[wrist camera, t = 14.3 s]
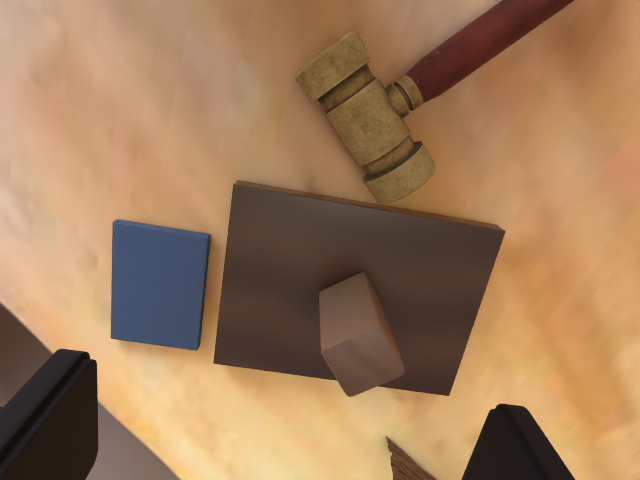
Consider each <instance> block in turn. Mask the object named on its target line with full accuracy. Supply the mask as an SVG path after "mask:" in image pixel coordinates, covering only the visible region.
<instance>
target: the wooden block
mask: <svg viewBox="0 0 640 480" xmlns="http://www.w3.org/2000/svg"><path fill="white" fill-rule="evenodd" d="M319 307H320V336H321V353H322V355H323V357H324V358H325V360H326V362H327V364H328V365H329V367H330V369H331V370H332V372H333V374H334V375H335V377H336V379H337V381H338V382H339V384H340V386H341V387H342V389H343V391H344V392H345V394H346V395H347V396H349V397H351V396H355V395H357V394H360V393H362V392H364V391H367V390H369V389H372V388H374V387H376V386H379V385H381V384H384V383H386V382H388V381H391V380H393V379H396V378H398V377H400V376H402V375H403V374H404V365H403V362H402V359H401V356H400V353H399V350H398V348H397V345H396V342H395V339H394V336H393V333H392V330H391V327H390V324H389V321H388V318H387V315H386V312H385V309H384V307H383V305H382V303H381V301H380V299H379V297H378V295H377V293H376V291H375V289H374V287H373V285H372V283H371V281H370V279H369V278H368V276H367V274H365V273H364V272H362V273H359V274H357V275H354V276H352V277H350V278H348V279H346V280H343V281H341V282H339V283H337V284H335V285H333V286H330V287H328V288H326V289H324V290H322V291H321V292H320V293H319Z"/></svg>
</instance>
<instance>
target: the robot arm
mask: <svg viewBox="0 0 640 480" xmlns="http://www.w3.org/2000/svg"><path fill="white" fill-rule="evenodd" d="M97 403H98V402H97V362H96V360H93V359H90V355H89V353H88V352H83V351H75V350H67V349H59V350H57V351H56V352H55V353H54V354H53V355H52V356H51V357H50V358H49V359H48V360H47V361H46V363H44V365H43V366H42V367H41V368H40V369H39V370H38V371H37V372H36V373H35V374H34V375H33V376H32V377H31V379H29V381H28V382H27V383H26V384H25V385H24V386H23V387H22V388H21V389H20V390H19V391H18V392H17V393H16V395H14V397H13V398H12V399H11V400H10V401H9V402H8V403H7V404H6V405H5V406H4V407H0V480H85V479H86V478H87V476H88V474H89V472H90V470H91V469H92V467H93V465H94V463H95V460H96V457H97V453H98V404H97ZM462 480H575V479H574V477H573V476H572V474H571V473H570V471H569V470H568V468H567V467H566V466H565V464H564V463H563V461H562V460H561V458H560V457H559V455H558V454H557V452H556V451H555V449H554V448H553V446H552V445H551V443H550V442H549V440H548V439H547V437H546V436H545V434H544V433H543V431H542V430H541V428H540V427H539V425H538V424H537V423H536V421H535V420H534V418H533V417H532V415H531V414H530V412H529V411H528V410H527V409H526V408H525V407H523V406H516V405H508V404H499V405H497V406H496V408H495V409H492V410H490V412H489V414H488V416H487V418H486V421H485V423H484V426H483V428H482V431H481V433H480V436H479V438H478V440H477V443H476V445H475V448H474V450H473V453H472V455H471V458H470V460H469V463H468V465H467V467H466V470H465V472H464V475H463V477H462Z"/></svg>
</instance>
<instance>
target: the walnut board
mask: <svg viewBox="0 0 640 480" xmlns="http://www.w3.org/2000/svg"><path fill="white" fill-rule="evenodd" d="M504 234H505V230H503V229H502V228H500V227H499V226H497V225H493V224H487V223H482V222H476V221H470V220H464V219H458V218H453V217H447V216H441V215H435V214H429V213H423V212H418V211H412V210H406V209H400V208H394V207H389V206H383V205H377V204H371V203H365V202H360V201H354V200H348V199H342V198H336V197H330V196H325V195H319V194H313V193H307V192H301V191H296V190H290V189H284V188H278V187H272V186H267V185H261V184H255V183H249V182H243V181H236V183H235V184H234V185H233V193H232V202H231V211H230V220H229V229H228V238H227V247H226V255H225V264H224V273H223V282H222V291H221V300H220V309H219V318H218V327H217V336H216V345H215V354H214V364H221V365H228V366H235V367H243V368H250V369H257V370H264V371H272V372H279V373H286V374H293V375H300V376H308V377H315V378H322V379H329V380H337V379H336V377H335V375H334V374H333V372H332V370H331V369H330V367H329V365H328V364H327V362H326V360H325V358H324V357H323V355H322V353H321V336H320V307H319V293H320V292H321V291H322V290H324V289H326V288H328V287H330V286H333V285H335V284H337V283H339V282H341V281H343V280H346V279H348V278H350V277H352V276H354V275H357V274H359V273H362V272H364V273H365V274H367V276H368V278H369V279H370V281H371V283H372V285H373V287H374V289H375V291H376V293H377V295H378V297H379V299H380V301H381V303H382V305H383V307H384V309H385V312H386V315H387V318H388V321H389V324H390V327H391V330H392V333H393V336H394V339H395V342H396V345H397V348H398V350H399V353H400V356H401V359H402V362H403V365H404V374H403V375H402V376H400V377H398V378H396V379H393V380H391V381H388V382H386V383H384V384H381V385H379V386H380V387H387V388H395V389H402V390H409V391H416V392H423V393H431V394H438V395H445V396H449V395H450V392H451V389H452V386H453V383H454V380H455V377H456V374H457V371H458V368H459V365H460V363H461V360H462V357H463V354H464V351H465V348H466V345H467V342H468V339H469V336H470V333H471V330H472V327H473V325H474V322H475V319H476V316H477V313H478V310H479V307H480V304H481V301H482V298H483V295H484V292H485V290H486V287H487V284H488V281H489V278H490V275H491V272H492V269H493V266H494V263H495V260H496V257H497V254H498V252H499V249H500V246H501V243H502V240H503V237H504Z"/></svg>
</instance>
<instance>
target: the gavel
mask: <svg viewBox="0 0 640 480" xmlns="http://www.w3.org/2000/svg"><path fill="white" fill-rule="evenodd" d="M572 1H574V0H502V1H501V2H499V3H498V4H497V5H495V6H494V7H492V8H491V9H490V10H488V11H487V12H486V13H484V14H483V15H481V16H480V17H479V18H477V19H476V20H475V21H473V22H472V23H470V24H469V25H468V26H466V27H465V28H463V29H462V30H461V31H459V32H458V33H457V34H455V35H454V36H452V37H451V38H450V39H448V40H447V41H445V42H444V43H443V44H441V45H440V46H439V47H437V48H436V49H434V50H433V51H432V52H430V53H429V54H427V55H426V56H425V57H423V58H422V59H421V60H419V61H418V62H417V63H416V64H415V65H414V66H413V67H412V68H411V69H410V70H409V71H408V72H407V73H406V74H405V75H404V76H403V77H401V78H400V79H399V80H397V81H396V82H395V83H394V86H393V85H390V86H388V87H387V88H385V89H384V87H383V85H382V84H381V82H380V80H379V79H378V77H374V76H373V74H372V72H371V71H370V69H369V67H368V66H367V63H368V62H369V61H370V60H371V59H372V57H371V55H370V53H369V52H368V50H367V48H366V47H365V45H364V43H363V42H362V40H361V38H360V37H359V35H358V33H357V32H349V33H348V34H346V35H344V36H343V37H341V38H340V39H338V40H337V41H336V42H334V43H333V44H331V45H330V46H329V47H327V48H326V49H325V50H323V51H322V52H321V53H319V54H318V55H317V56H316V57H314V58H313V59H312V60H311V61H309V62H308V63H307V64H306V65H305V66H304V67H302V68H301V69H300V70H299V71H298V72H297V74H296V77H295V79H296V80H297V82H298V83H299V85H300V86H301V88H302V89H303V91H304V92H305V94H306V95H307V97H308V98H309V100H310V101H311V103H312V102H314V101H316V100H319V101H320V103H321V105H322V106H323V108H324V109H325V111H326V114H325V115H326V117H327V118H328V120H329V121H330V123H331V124H332V126H333V127H334V129H335V130H336V132H337V133H338V135H339V136H340V138H341V139H342V141H343V142H344V144H345V145H346V147H347V149H348V150H349V152H350V153H351V155H352V156H353V158H354V159H355V161H356V162H357V164H358V165H359V166H362V167H363V168H364V170H365V172H366V175H365V176H364V178H363V181H364V183H365V184H366V186H367V187H368V189H369V190H370V192H371V193H372V195H373V196H374V198H375V199H376V201H377V202H378V203H390V202H394V201H396V200H399V199H401V198H403V197H405V196H407V195H409V194H410V193H412V192H414V191H415V190H416V189H418V188H419V187H421V186H422V185H423V184H424V183H425V182H426V181H427V180H428V179H429V178H430V177H431V176H432V174H433V173H434V171H435V169H436V164H435V163H434V161H433V159H432V158H431V156H430V154H429V153H428V151H427V149H426V147H425V146H424V144H423V142H421V141H418V142H413V140H412V139H411V137H410V135H409V133H410V131H409V129H408V127H407V126H406V124H405V122H404V121H403V119H402V118H404V117H405V116H406V115H408V114H409V110H411V111H413V110H414V109H416V108H417V107H418V106H420V105H421V104H423V103H425V102H427V101H429V100H431V99H433V98H435V97H437V96H439V95H441V94H442V93H444V92H445V91H447V90H448V89H449V88H451V87H452V86H454V85H455V84H457V83H458V82H459V81H461V80H462V79H464V78H465V77H466V76H468V75H469V74H471V73H472V72H473V71H475V70H476V69H478V68H479V67H481V66H482V65H483V64H485V63H486V62H488V61H489V60H490V59H492V58H493V57H495V56H496V55H498V54H499V53H500V52H502V51H503V50H505V49H506V48H507V47H509V46H510V45H512V44H513V43H514V42H516V41H517V40H519V39H520V38H522V37H523V36H524V35H526V34H527V33H529V32H530V31H531V30H533V29H534V28H536V27H537V26H539V25H540V24H541V23H543V22H544V21H546V20H547V19H548V18H550V17H551V16H553V15H554V14H555V13H557V12H558V11H560V10H561V9H563V8H564V7H565V6H567V5H568V4H570V3H571V2H572Z"/></svg>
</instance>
